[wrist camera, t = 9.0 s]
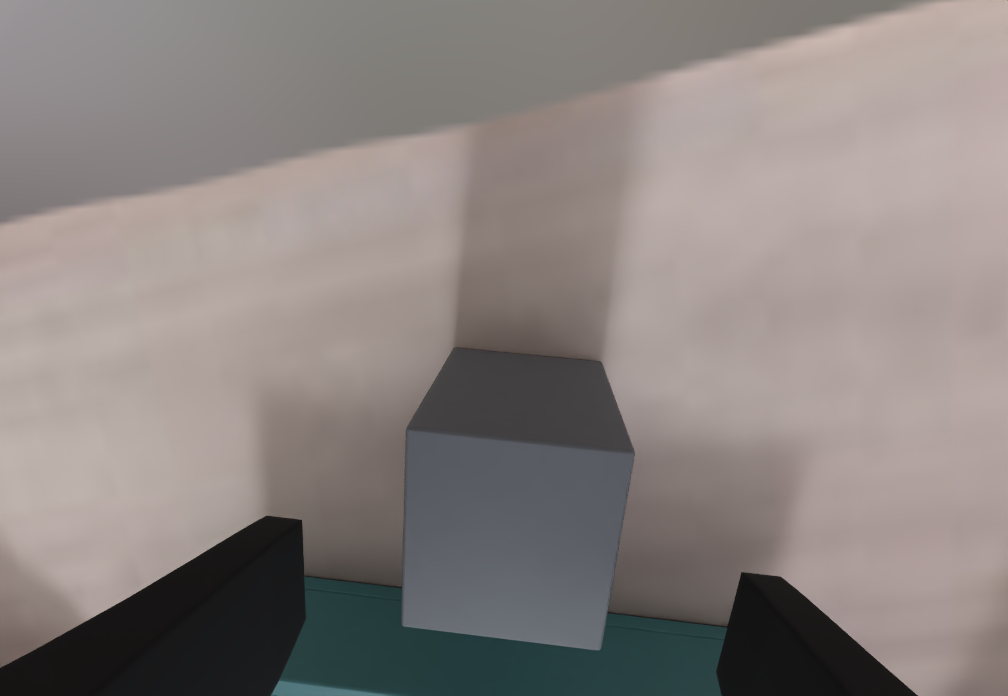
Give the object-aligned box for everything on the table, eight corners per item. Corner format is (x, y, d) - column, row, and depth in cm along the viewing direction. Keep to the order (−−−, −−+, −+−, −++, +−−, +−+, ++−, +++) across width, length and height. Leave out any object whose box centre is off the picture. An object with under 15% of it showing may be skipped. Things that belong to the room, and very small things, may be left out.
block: (602, 360, 13) (636, 451, 9) (582, 504, 15) (601, 652, 10) (453, 346, 14) (405, 427, 9) (445, 489, 15) (400, 627, 10)
